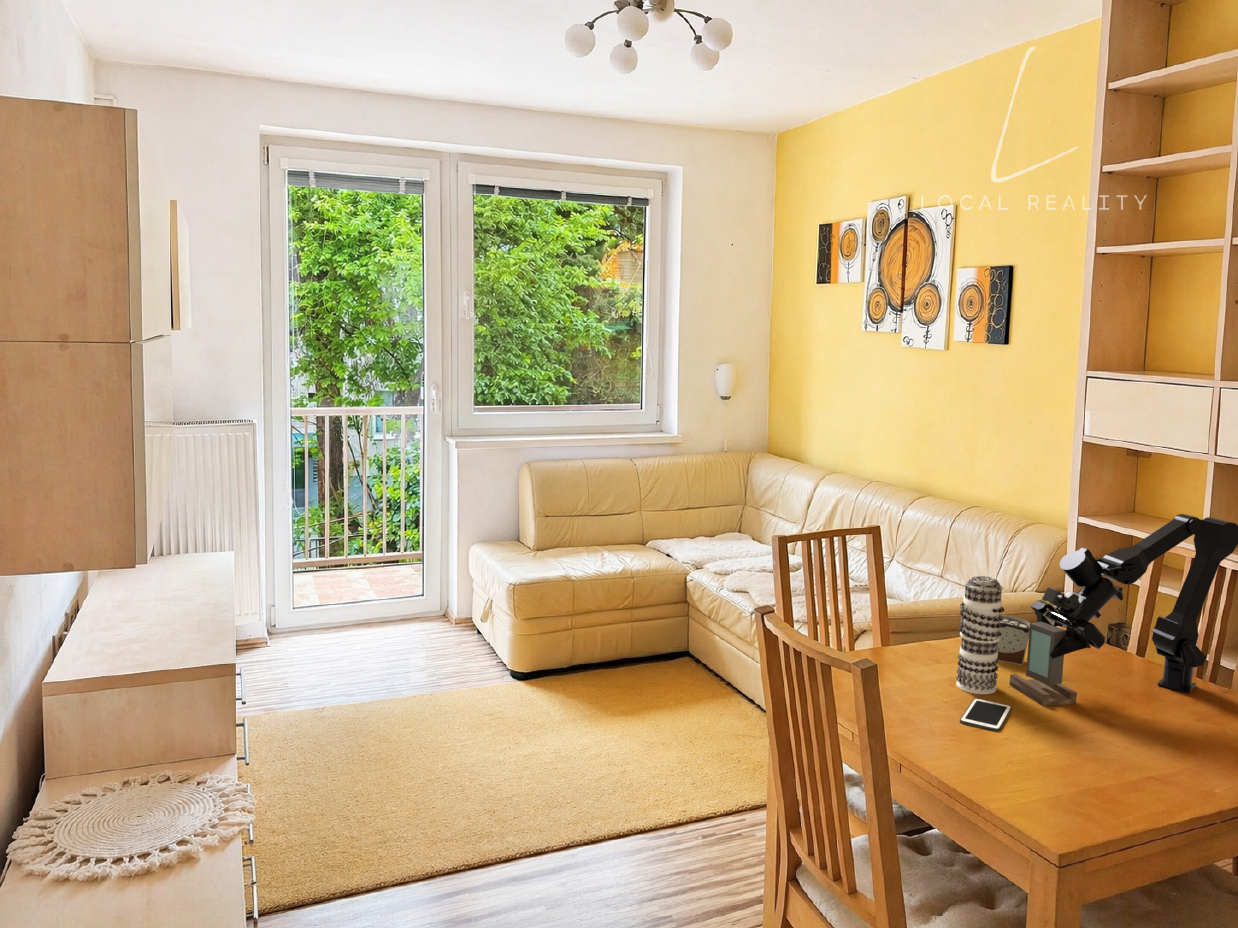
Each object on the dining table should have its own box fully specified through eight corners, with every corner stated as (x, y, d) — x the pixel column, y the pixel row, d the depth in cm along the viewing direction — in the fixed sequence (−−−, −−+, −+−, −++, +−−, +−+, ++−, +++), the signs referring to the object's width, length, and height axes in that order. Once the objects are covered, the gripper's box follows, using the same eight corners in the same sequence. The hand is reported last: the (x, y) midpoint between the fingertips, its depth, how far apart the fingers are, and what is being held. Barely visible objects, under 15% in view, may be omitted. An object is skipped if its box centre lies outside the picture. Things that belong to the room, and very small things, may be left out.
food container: (1033, 659, 228) (1037, 619, 227) (1029, 666, 223) (1032, 626, 221) (980, 649, 235) (983, 610, 233) (975, 656, 229) (978, 617, 228)
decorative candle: (987, 679, 214) (995, 573, 211) (1005, 695, 205) (1014, 584, 201) (948, 679, 214) (955, 573, 210) (964, 694, 205) (972, 584, 201)
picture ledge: (1041, 682, 212) (1042, 672, 212) (1076, 703, 201) (1077, 692, 200) (1009, 684, 211) (1010, 674, 211) (1042, 705, 199) (1043, 694, 199)
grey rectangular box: (1036, 673, 209) (1041, 621, 207) (1061, 683, 203) (1066, 630, 202) (1025, 675, 208) (1029, 623, 206) (1049, 685, 202) (1054, 632, 200)
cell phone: (958, 724, 190) (958, 720, 190) (974, 701, 202) (974, 696, 202) (998, 734, 186) (999, 729, 186) (1012, 709, 198) (1012, 705, 198)
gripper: (1041, 565, 212) (994, 614, 211) (1097, 587, 194) (1045, 641, 193) (1069, 597, 214) (1022, 645, 214) (1127, 622, 196) (1076, 675, 196)
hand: (1040, 650), depth 204 cm, fingers closed on grey rectangular box, 7 cm apart
